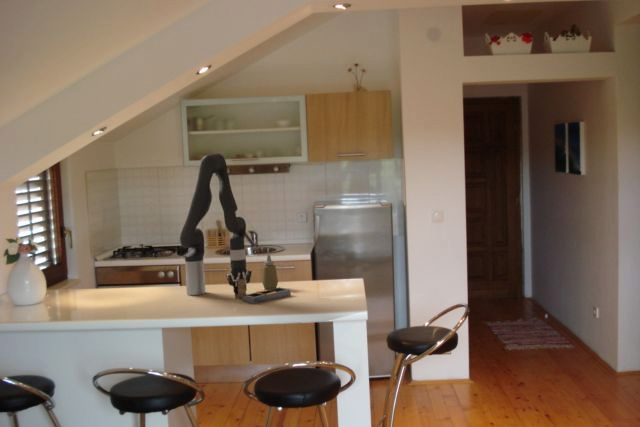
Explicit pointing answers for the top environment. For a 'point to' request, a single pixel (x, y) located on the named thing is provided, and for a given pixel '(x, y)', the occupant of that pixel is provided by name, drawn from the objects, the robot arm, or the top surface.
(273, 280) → the squeeze bottle
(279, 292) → the grey compartment tray
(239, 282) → the walnut peg
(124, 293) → the top surface
